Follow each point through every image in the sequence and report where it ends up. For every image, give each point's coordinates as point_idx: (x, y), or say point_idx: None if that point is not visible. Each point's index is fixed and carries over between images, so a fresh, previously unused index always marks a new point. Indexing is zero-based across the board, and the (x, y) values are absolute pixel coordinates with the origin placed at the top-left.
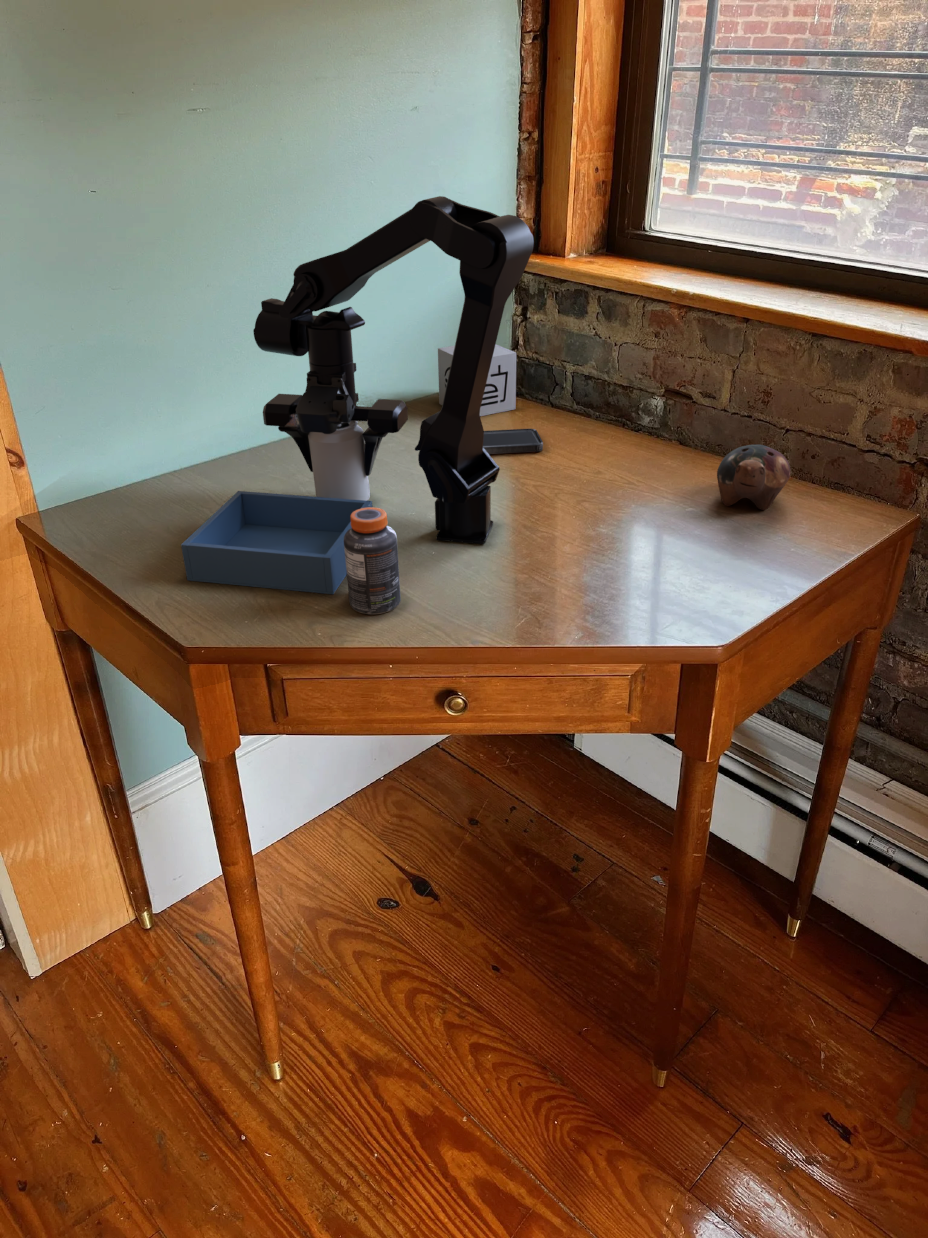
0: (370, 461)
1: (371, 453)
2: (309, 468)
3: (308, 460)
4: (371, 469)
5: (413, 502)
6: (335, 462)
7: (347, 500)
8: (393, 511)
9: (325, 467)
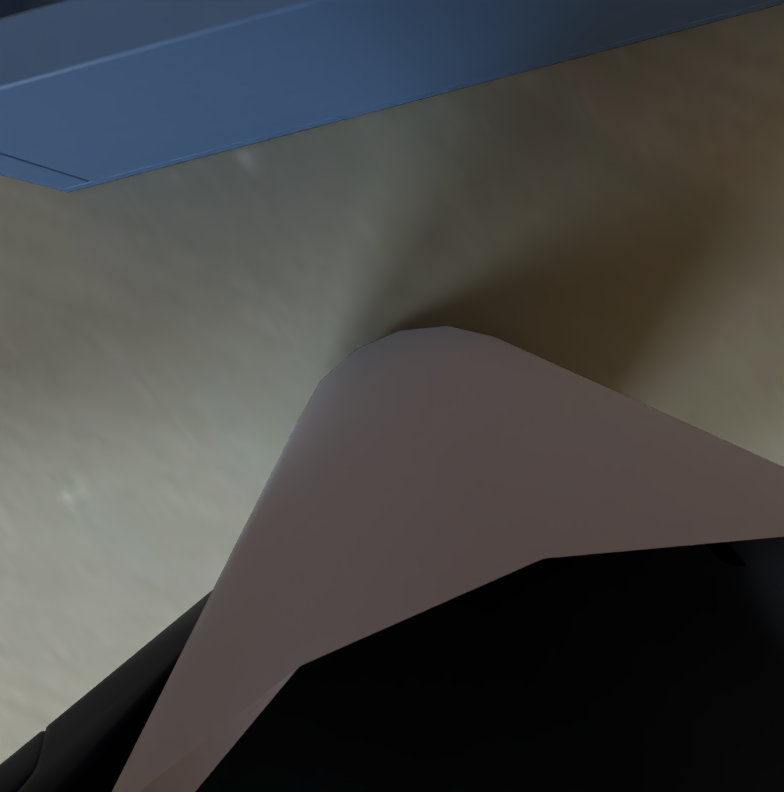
0: (122, 665)
1: (20, 752)
2: None
3: None
4: None
5: (147, 594)
6: (370, 431)
7: (40, 40)
8: (165, 479)
9: (493, 380)
